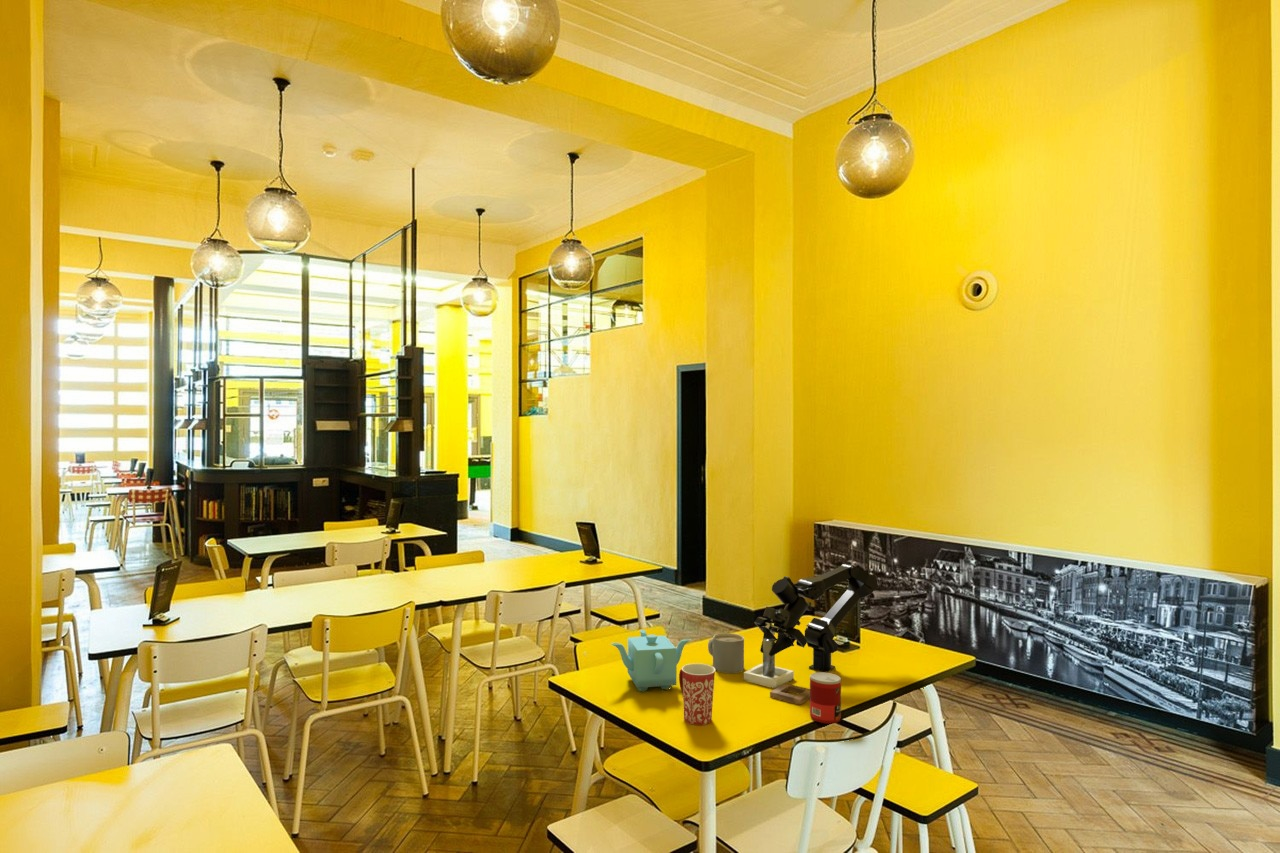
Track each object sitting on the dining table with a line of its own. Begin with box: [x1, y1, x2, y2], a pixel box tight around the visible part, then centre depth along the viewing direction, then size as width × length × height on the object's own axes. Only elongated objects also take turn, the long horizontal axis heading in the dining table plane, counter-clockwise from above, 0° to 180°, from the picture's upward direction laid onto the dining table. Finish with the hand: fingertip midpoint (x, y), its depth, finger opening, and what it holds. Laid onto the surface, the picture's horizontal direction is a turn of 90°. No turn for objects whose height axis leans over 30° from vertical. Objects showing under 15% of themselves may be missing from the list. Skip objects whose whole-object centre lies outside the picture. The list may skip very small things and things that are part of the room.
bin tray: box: [743, 663, 795, 689], centre depth 216 cm, size 11×11×2 cm
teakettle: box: [610, 629, 692, 692], centre depth 211 cm, size 19×19×15 cm
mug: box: [678, 662, 717, 726], centre depth 186 cm, size 13×9×14 cm
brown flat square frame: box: [769, 683, 810, 706], centre depth 202 cm, size 9×9×2 cm
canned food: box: [809, 671, 842, 725], centre depth 186 cm, size 8×8×11 cm
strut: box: [762, 638, 776, 677], centre depth 216 cm, size 4×4×11 cm
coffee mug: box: [707, 632, 745, 674], centre depth 228 cm, size 13×10×10 cm
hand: (765, 653), depth 215 cm, fingers open, 4 cm apart
